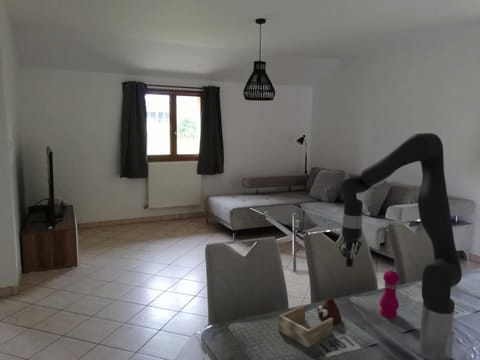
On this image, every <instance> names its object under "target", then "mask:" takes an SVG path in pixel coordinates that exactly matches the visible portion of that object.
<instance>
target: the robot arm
mask: <svg viewBox="0 0 480 360" xmlns="http://www.w3.org/2000/svg"><path fill="white" fill-rule="evenodd" d="M444 161H445V159H444V145H443V142H442V139H441V138H440V137H439V136H438V135H437V134H435V133H431V132H426V133H425V132H421V133H415V134H413V135H410V137H408V138H406V140H404V141H403V142H402V143H400V144H399V146H397V147H396V148H395V149H393V150H392V151H391V152H390V153H389V154H387V155H385V156H384V157H382V158H380V159H378V160H377V161H375V162H373V163H371V164H370V165H368V166H367V167H364V169H362V170H361V173H360V174H356V175H348V176H346V177H344V178H343V180H342V183H341V193H342V194H341V195H342V198H343V203H344V207H343V217H342V225H341V236H342V237H343V238H344V239H343V243H342V246H341V245H340V246H339V247H338V249H339V251H340V254H341V255H342V257H344V258H346V259H345V260H346V261H345V265H346V267H348V268H352V267H353V265H354V258H355V256H357V255H358V254H359V250H360V249H361V246H362V244H363V243H362V241H360V239H361V237H362V229H363V207H364V206H363V205H364V204H363V201H362V200H361V199H359V198H357V194H361V193H364V192H366V191H368V190H369V189H371V188H372V187H373V186H375V185H377V184H379V183H380V182H382V181H384V180H386V179H388V178H389V177H390V176H392V174H394V173H395V172H396V171H397V170H399V169H401V168H402V167H404V166H407V165H409V164H413V163H417V162H420V166H421V171H422V172H421V173H422V174H421V175H422V180H421V184H420V188H419V191H418V192H419V193H418V197H417V198H418V199H417V207H418V214H419V215H418V216H419V220H420V223H421V226H422V229H424V231H425V233H426V234H427V236H428V238H429V239H430V242H431V244H432V249H433V250H432V251H433V258H434V261H431V262H430V263H428V264H426V265H425V267H424V269H423V270H422V271H423V272H422V277H421V278H422V279H421V298H422V300H423V302H422V312H421V313H422V314H421V321H420V322H421V325H420V332H419V333H420V334H419V344H418V353H419V355H420V356H421V357H422V358H424V359H426V360H451V358H452V354H453V346H454V337H455V331H454V330H453V327H454V326H453V323H454V315H455V307H456V306H455V305H456V304H455V302H454V300H453V299H452V298H451V293H452V288H453V287H456V286H457V285H458V284H459V283H460V282H461V281H462V278H463V272H462V265H461V263H460V259H459V256H458V252H457V247H456V244H455V237H454V232H453V231H454V230H453V224H452V216H451V209H450V202H449V198H448V192H447V191H448V189H447V184H446V177H445V164H444Z"/></svg>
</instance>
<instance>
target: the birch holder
mask: <svg viewBox="0 0 480 360" xmlns="http://www.w3.org/2000/svg"><path fill="white" fill-rule="evenodd" d="M305 320H306V305H305V304H302V305H299V306H297V307H295V308H293V309H290V310H288V311H286V312H285V313H281V314H279V316H278V331H279V332H280V333H281V334H283V335H285V336H287V337H289V338H290V339H292V340H294V341H296V342H298V343H299V344H300V345H303V346H304V347H306V348H310V347H312V346H313V345H315V344H317V343H318V342H320V341H322V340H323V339H326V338H327V337H329V336H330V335H332V334H333V328H334V327H333V326H334V325H333V318H329V319H327V320H325V321H323V320H322V321H321V322H320V323H318V324H316V325H314V326H312V327H310V328H309V329H308V328H307V327H304V326H303V325H301V324H299V323H301V322H303V321H305Z"/></svg>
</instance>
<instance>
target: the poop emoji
mask: <svg viewBox="0 0 480 360" xmlns="http://www.w3.org/2000/svg"><path fill="white" fill-rule="evenodd" d="M317 311H318V315H317V316H318V318H319V319H321V321H322V322H323V321H325V320H327V319H329V318H333V326H336V325H339V324H340V323H341V322H342V315H341V313H340V309H339V308H338V304H336V302H335V300H334V298H333V297H329V298H327V299H326V301H325V302H324V303H323V304H322V305H319V306H318V307H317Z"/></svg>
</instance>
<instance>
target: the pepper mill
mask: <svg viewBox="0 0 480 360" xmlns="http://www.w3.org/2000/svg"><path fill="white" fill-rule="evenodd" d="M382 279H383V281H384V282H383V286H384V287H385V288H384V293H383V294H382V295H381V298H380V300H379V306H380V311H379V313H380V315H381V316H382V317H384V318H386V319H387V318H388V319H394V318H395V319H396V317H397V316H398V315H397V314H398V312H397V310H399V306H400V304H399V300H398V297H397V294H396V291H397V288H398V283H399V281H400V274H399V273H398V272H396V271H395V268H394V267H389V270H387V271H385V272H384V274H383V278H382Z"/></svg>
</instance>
